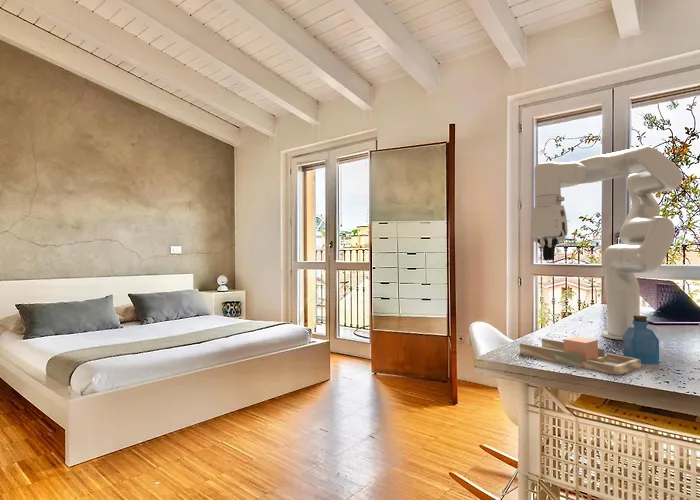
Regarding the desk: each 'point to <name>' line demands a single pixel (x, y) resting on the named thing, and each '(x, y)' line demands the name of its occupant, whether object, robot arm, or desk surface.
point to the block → (582, 347)
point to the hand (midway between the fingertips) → (548, 259)
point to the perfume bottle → (641, 342)
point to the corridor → (581, 357)
